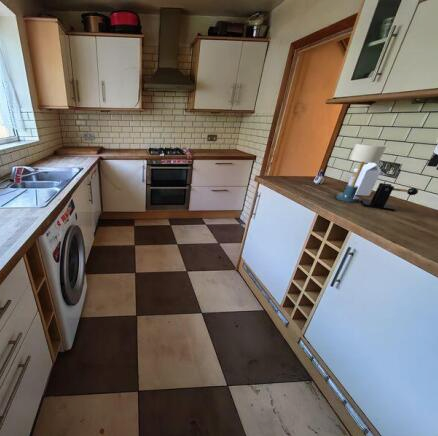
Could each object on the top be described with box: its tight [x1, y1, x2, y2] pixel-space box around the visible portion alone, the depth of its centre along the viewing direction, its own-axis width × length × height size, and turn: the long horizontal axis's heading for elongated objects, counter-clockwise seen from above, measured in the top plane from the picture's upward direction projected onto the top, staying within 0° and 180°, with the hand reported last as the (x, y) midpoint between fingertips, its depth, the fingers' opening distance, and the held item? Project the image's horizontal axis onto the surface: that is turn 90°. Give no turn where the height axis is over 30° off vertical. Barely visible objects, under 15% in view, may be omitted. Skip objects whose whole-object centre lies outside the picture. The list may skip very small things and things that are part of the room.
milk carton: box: [355, 162, 381, 197], centre depth 135 cm, size 7×7×19 cm
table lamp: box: [335, 142, 387, 203], centre depth 123 cm, size 12×12×30 cm
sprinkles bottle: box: [347, 167, 359, 185], centre depth 144 cm, size 5×5×13 cm
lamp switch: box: [392, 187, 419, 196], centre depth 114 cm, size 13×4×4 cm, turn 58°
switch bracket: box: [359, 182, 396, 212], centre depth 118 cm, size 12×9×12 cm
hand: (436, 168), depth 105 cm, fingers open, 9 cm apart
